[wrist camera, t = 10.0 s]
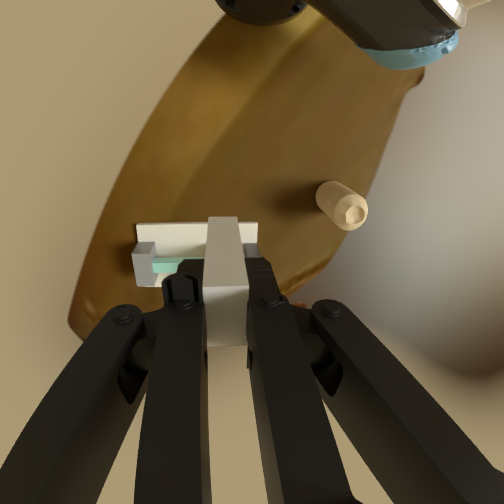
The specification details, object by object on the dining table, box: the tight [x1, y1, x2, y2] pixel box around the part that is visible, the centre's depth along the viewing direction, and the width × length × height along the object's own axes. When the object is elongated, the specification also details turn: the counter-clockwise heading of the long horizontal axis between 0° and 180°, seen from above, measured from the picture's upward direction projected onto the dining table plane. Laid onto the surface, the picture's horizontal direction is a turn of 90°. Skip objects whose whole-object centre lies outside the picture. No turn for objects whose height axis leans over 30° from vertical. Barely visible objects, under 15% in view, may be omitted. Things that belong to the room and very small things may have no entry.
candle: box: [316, 181, 368, 230], centre depth 41 cm, size 6×6×10 cm
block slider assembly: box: [132, 222, 261, 287], centre depth 45 cm, size 12×20×6 cm, turn 88°
